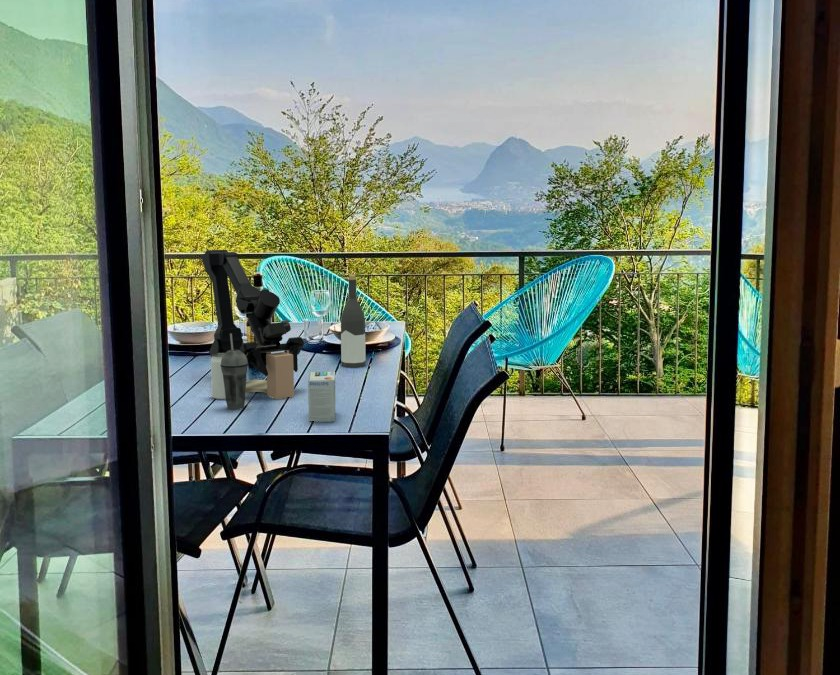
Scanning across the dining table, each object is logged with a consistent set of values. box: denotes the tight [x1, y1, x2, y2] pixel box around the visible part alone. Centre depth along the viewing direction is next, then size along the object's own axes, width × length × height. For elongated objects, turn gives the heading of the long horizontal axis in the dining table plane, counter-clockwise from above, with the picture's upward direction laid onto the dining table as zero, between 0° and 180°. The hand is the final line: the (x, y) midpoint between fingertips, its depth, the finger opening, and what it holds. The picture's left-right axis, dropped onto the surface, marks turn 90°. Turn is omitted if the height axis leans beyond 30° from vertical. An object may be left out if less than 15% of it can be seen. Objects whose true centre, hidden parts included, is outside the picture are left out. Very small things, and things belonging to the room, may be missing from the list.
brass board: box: [246, 378, 267, 394], centre depth 255 cm, size 11×11×1 cm
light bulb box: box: [307, 371, 336, 423], centre depth 222 cm, size 11×7×11 cm, turn 5°
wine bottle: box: [340, 274, 367, 369], centre depth 287 cm, size 8×8×30 cm
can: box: [210, 353, 226, 400], centre depth 243 cm, size 6×6×12 cm
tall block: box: [265, 351, 295, 400], centre depth 244 cm, size 6×6×12 cm
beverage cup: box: [220, 334, 249, 410], centre depth 231 cm, size 7×7×20 cm
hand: (282, 373), depth 243 cm, fingers open, 9 cm apart
